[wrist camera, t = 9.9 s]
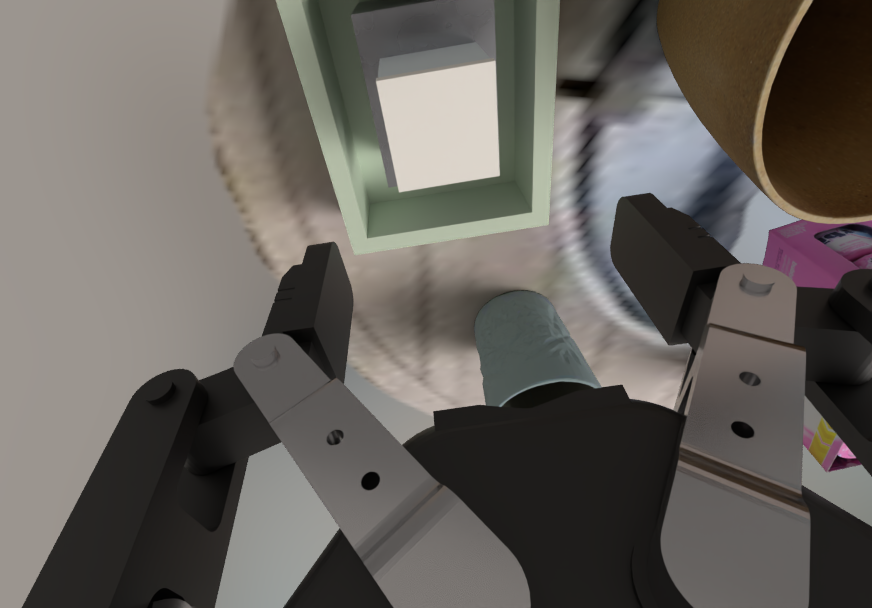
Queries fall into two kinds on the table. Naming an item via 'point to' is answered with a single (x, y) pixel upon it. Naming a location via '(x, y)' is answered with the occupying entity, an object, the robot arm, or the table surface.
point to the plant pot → (782, 95)
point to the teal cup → (527, 352)
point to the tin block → (415, 41)
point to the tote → (359, 148)
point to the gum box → (821, 268)
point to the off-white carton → (440, 115)
